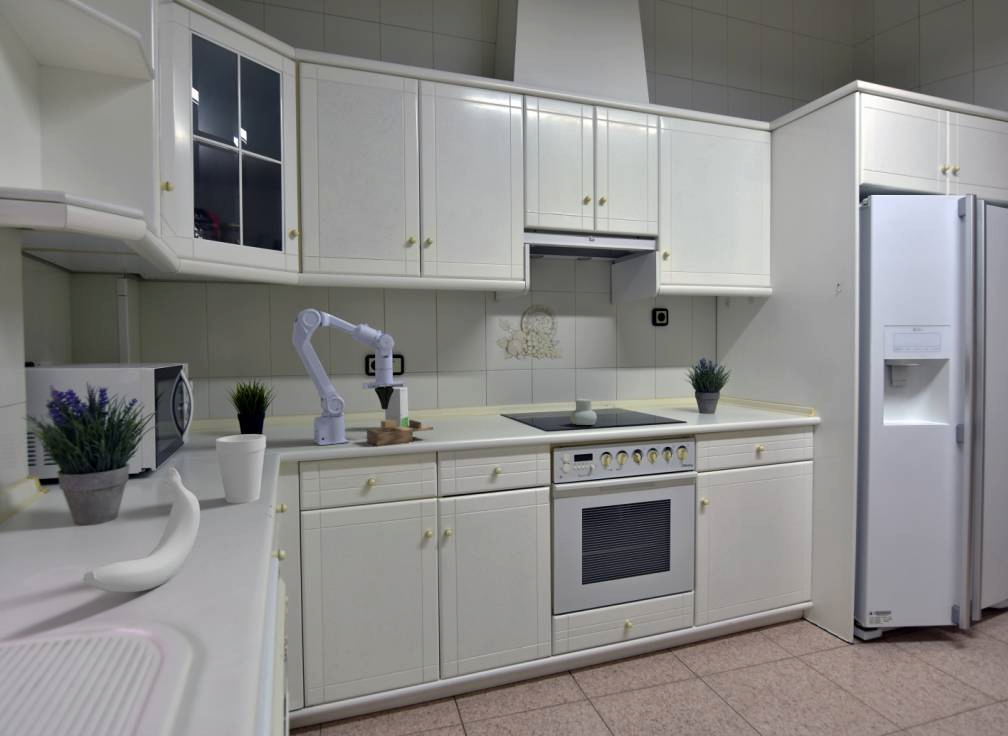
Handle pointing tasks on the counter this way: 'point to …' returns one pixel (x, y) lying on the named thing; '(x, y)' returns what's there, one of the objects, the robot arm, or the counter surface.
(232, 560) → the counter surface
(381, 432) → the brown wooden block
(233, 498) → the foam cup
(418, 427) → the lid
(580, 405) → the air freshener
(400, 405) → the skincare box
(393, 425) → the brown patterned block
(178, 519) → the banana
